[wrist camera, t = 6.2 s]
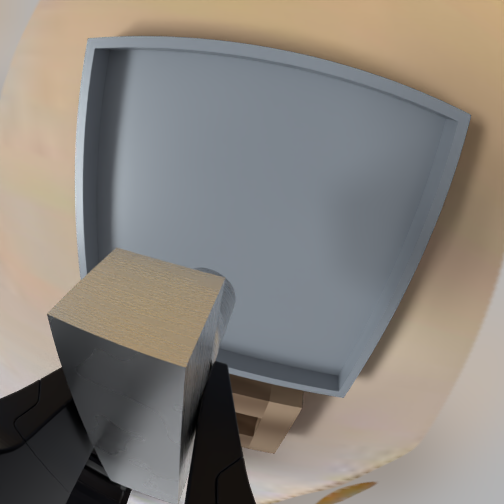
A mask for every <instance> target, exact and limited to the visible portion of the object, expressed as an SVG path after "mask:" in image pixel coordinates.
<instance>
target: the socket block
mask: <svg viewBox="0 0 504 504" xmlns="http://www.w3.org/2000/svg"><path fill="white" fill-rule="evenodd" d="M229 375H230V382H231V388H232V394H233V400H234V406H235V412H236V418H237V424H238V429H239V435H240V441H241V446H242V447H244V448H248V449H253V450H258V451H263V452H268V453H273V454H274V453H275V452H276V450H277V449H278V447H279V446H280V444H281V442H282V441H283V439H284V438H285V436H286V434H287V433H288V431H289V429H290V428H291V426H292V425H293V423H294V421H295V419H296V418H297V416H298V414H299V413H300V411H301V409H302V403H303V390H298V389H293V388H288V387H283V386H279V385H274V384H270V383H266V382H261V381H257V380H253V379H249V378H245V377H241V376H237V375H233V374H230V373H229Z"/></svg>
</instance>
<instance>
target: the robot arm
mask: <svg viewBox="0 0 504 504" xmlns="http://www.w3.org/2000/svg"><path fill="white" fill-rule="evenodd" d="M130 492H131V489H130V488H128V487H125V486H123V485H120V484H118V483H116V482H113V481H111V480H110V478H109V477H108V475H107V473H106V471H105V469H104V467H103V465H102V463H101V461H100V459H99V457H98V455H97V453H96V451H95V449H94V447H93V445H92V442H91V440H90V438H89V436H88V434H87V431H86V429H85V427H84V424H83V422H82V420H81V417H80V415H79V412H78V410H77V407H76V405H75V402H74V399H73V397H72V394H71V391H70V389H69V386H68V383H67V380H66V377H65V374H64V371H63V368H62V367H61V368H59V369H58V370H56V371H54V372H52V373H50V374H49V375H47V376H45V377H43V378H41V380H38V381H36V382H34V383H32V384H30V385H28V386H27V387H25V388H23V389H21V390H19V391H17V392H14V393H12V394H10V395H8V396H5V397H3V398H0V504H127V501H128V498H129V495H130ZM185 504H256V502H255V500H254V497H253V494H252V491H251V487H250V484H249V480H248V476H247V472H246V467H245V462H244V458H243V452H242V446H241V441H240V435H239V429H238V424H237V418H236V412H235V406H234V400H233V394H232V388H231V382H230V375H229V369H228V365H227V364H226V363H223V362H219V361H214V363H213V365H212V368H211V370H210V373H209V376H208V380H207V382H206V385H205V387H204V390H203V393H202V396H201V402H200V408H199V414H198V420H197V426H196V433H195V439H194V445H193V451H192V458H191V464H190V471H189V478H188V484H187V491H186V498H185Z"/></svg>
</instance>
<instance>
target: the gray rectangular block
mask: <svg viewBox="0 0 504 504" xmlns="http://www.w3.org/2000/svg"><path fill="white" fill-rule="evenodd" d="M235 303H236V294H235V291H234V288H233V286H232V285H231V283H230V282H229V281H228V280H227V279H226V278H225V277H224V276H223V275H222V274H220V273H218V272H216V271H214V270H211V269H208V268H193V269H191V268H188V267H184V266H180V265H177V264H173V263H169V262H166V261H162V260H159V259H155V258H152V257H148V256H145V255H141V254H138V253H134V252H131V251H127V250H124V249H120V248H117V247H116V248H115V249H114V250H113V251H112V252H111V253H110V254H109V255H108V256H106V257H105V258H104V259H103V260H102V261H101V262H100V263H99V264H98V265H97V266H96V267H94V268H93V269H92V270H91V271H90V272H89V273H88V274H87V275H86V276H85V277H84V278H83V279H82V280H81V281H80V282H79V283H78V284H77V285H76V286H74V287H73V288H72V289H71V290H70V291H69V292H68V293H67V294H66V295H65V296H64V297H63V298H62V299H61V300H60V301H59V302H58V303H57V304H56V305H55V306H54V307H53V308H52V309H51V310H50V311H49V312H48V313H47V316H48V320H49V324H50V328H51V331H52V335H53V339H54V342H55V346H56V349H57V352H58V356H59V359H60V362H61V365H62V368H63V371H64V374H65V377H66V380H67V383H68V386H69V389H70V391H71V394H72V397H73V399H74V402H75V405H76V407H77V410H78V412H79V415H80V417H81V420H82V422H83V424H84V427H85V429H86V431H87V434H88V436H89V438H90V440H91V442H92V445H93V447H94V449H95V451H96V453H97V455H98V457H99V459H100V461H101V463H102V465H103V467H104V469H105V471H106V473H107V475H108V477H109V478H110V480H111V481H113V482H116V483H118V484H120V485H123V486H125V487H128V488H130V489H133V490H135V491H138V492H140V493H143V494H146V495H149V496H151V497H154V498H157V499H160V500H163V501H166V502H169V503H172V504H179V501H180V498H181V495H182V492H183V489H184V486H185V483H186V480H187V477H188V474H189V471H190V464H191V458H192V451H193V445H194V439H195V433H196V426H197V420H198V414H199V408H200V402H201V396H202V393H203V390H204V387H205V385H206V382H207V380H208V376H209V373H210V370H211V368H212V365H213V363H214V361H215V360H216V357H217V354H218V352H219V349H220V346H221V343H222V340H223V337H224V335H225V332H226V329H227V326H228V323H229V320H230V318H231V315H232V312H233V309H234V306H235Z"/></svg>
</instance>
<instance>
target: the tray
mask: <svg viewBox="0 0 504 504" xmlns="http://www.w3.org/2000/svg"><path fill="white" fill-rule="evenodd" d="M470 118H471V115H470V114H468V113H466V112H464V111H462V110H460V109H458V108H456V107H454V106H452V105H450V104H448V103H446V102H443V101H441V100H439V99H437V98H434V97H432V96H430V95H427V94H425V93H423V92H420V91H418V90H415V89H413V88H410V87H408V86H405V85H403V84H400V83H397V82H395V81H392V80H389V79H386V78H384V77H381V76H378V75H375V74H372V73H369V72H366V71H363V70H359V69H356V68H353V67H350V66H346V65H343V64H339V63H335V62H332V61H328V60H324V59H320V58H316V57H312V56H308V55H304V54H299V53H295V52H290V51H285V50H280V49H275V48H269V47H263V46H257V45H251V44H244V43H237V42H229V41H220V40H211V39H199V38H185V37H162V36H124V37H102V38H88V41H87V47H86V53H85V59H84V65H83V72H82V80H81V88H80V96H79V106H78V118H77V132H76V154H75V209H76V231H77V245H78V257H79V268H80V277H81V280H82V279H83V278H84V277H85V276H86V275H87V274H88V273H89V272H90V271H91V270H92V269H93V268H94V267H96V266H97V265H98V264H99V263H100V262H101V261H102V260H103V259H104V258H105V257H106V256H108V255H109V254H110V253H111V252H112V251H113V250H114V249H115V248H116V247H117V248H120V249H124V250H127V251H131V252H134V253H138V254H141V255H145V256H148V257H152V258H155V259H159V260H162V261H166V262H169V263H173V264H177V265H180V266H184V267H188V268H191V269H193V268H208V269H211V270H214V271H216V272H218V273H220V274H222V275H223V276H224V277H225V278H226V279H227V280H228V281H229V282H230V283H231V285H232V286H233V288H234V291H235V294H236V303H235V306H234V309H233V312H232V315H231V318H230V320H229V323H228V326H227V329H226V332H225V335H224V337H223V340H222V343H221V346H220V349H219V352H218V354H217V357H216V360H215V361H219V362H223V363H226V364H227V365H228V369H229V373H230V374H233V375H237V376H241V377H245V378H249V379H253V380H257V381H261V382H266V383H270V384H274V385H279V386H283V387H288V388H293V389H298V390H303V391H308V392H313V393H318V394H324V395H330V396H336V397H342V398H344V396H345V395H346V393H347V392H348V390H349V389H350V387H351V386H352V384H353V383H354V381H355V379H356V378H357V376H358V375H359V373H360V372H361V370H362V368H363V367H364V365H365V363H366V362H367V360H368V359H369V357H370V355H371V354H372V352H373V350H374V348H375V347H376V345H377V343H378V342H379V340H380V338H381V336H382V335H383V333H384V331H385V329H386V327H387V326H388V324H389V322H390V320H391V318H392V316H393V314H394V313H395V311H396V309H397V307H398V305H399V303H400V301H401V299H402V297H403V295H404V293H405V291H406V289H407V287H408V285H409V283H410V281H411V279H412V277H413V275H414V273H415V270H416V268H417V266H418V264H419V262H420V260H421V257H422V255H423V253H424V251H425V248H426V246H427V244H428V241H429V239H430V237H431V234H432V232H433V229H434V227H435V225H436V222H437V219H438V217H439V214H440V212H441V209H442V207H443V204H444V201H445V199H446V196H447V193H448V190H449V187H450V185H451V182H452V179H453V176H454V173H455V170H456V167H457V164H458V160H459V157H460V154H461V151H462V147H463V144H464V140H465V137H466V133H467V130H468V126H469V122H470Z"/></svg>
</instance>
